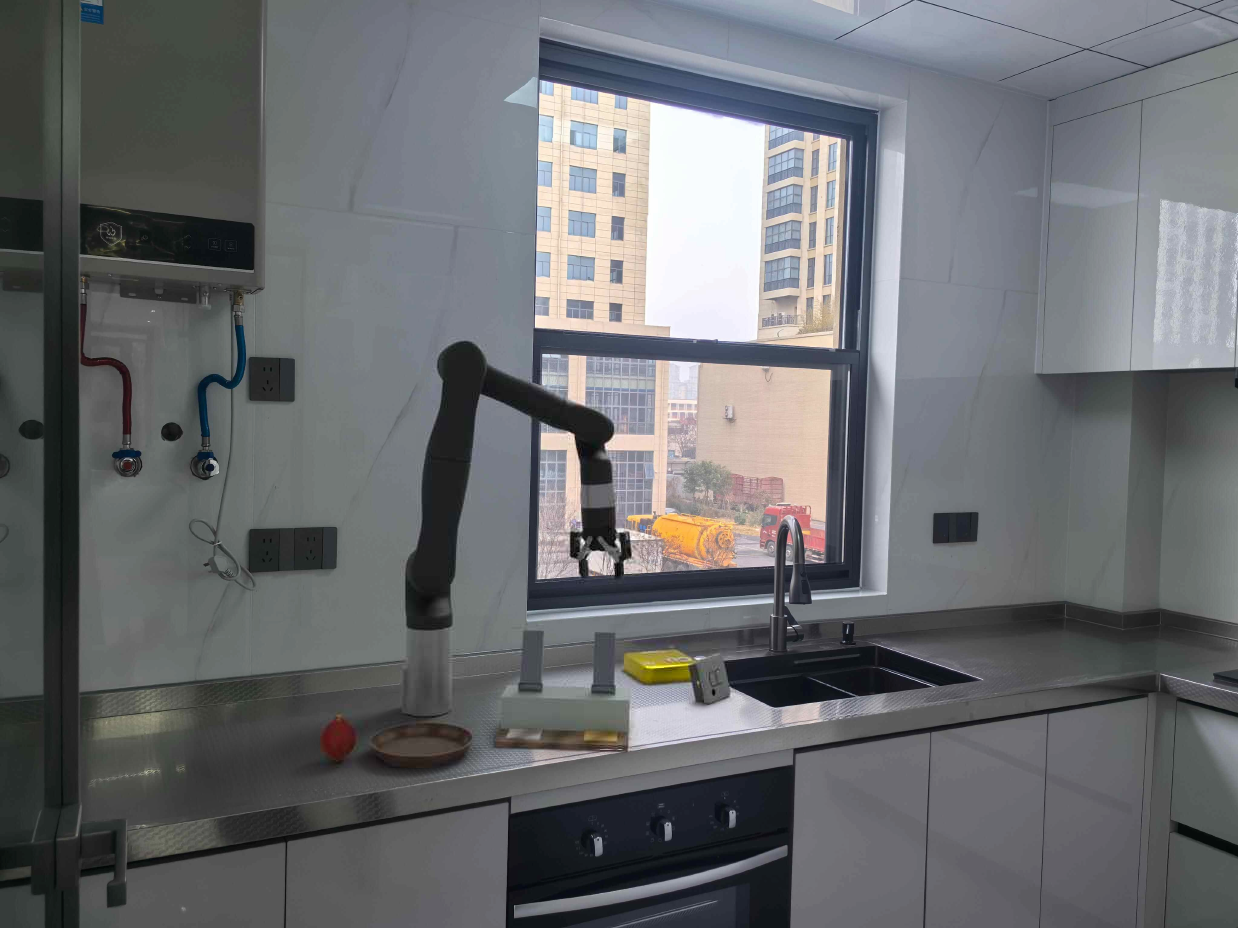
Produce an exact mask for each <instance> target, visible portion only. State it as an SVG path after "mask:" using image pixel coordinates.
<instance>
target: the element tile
mask: <svg viewBox="0 0 1238 928" xmlns="http://www.w3.org/2000/svg"><path fill="white" fill-rule="evenodd" d="M697 660H698V659H697ZM697 660H696V659H695V658H693V657H691V656H688V655H687V654H685V653H684V652H681V651H679V650H677V649H668V650H667V649H666V650H649V651H639V652H638V651H636V652H627V653H626V652H625V653H624V655H623V671H624V670H625V671H626V672H627V673H626V672H625V671H624V672H625V673H626V674H628V673H629V674H630V675H629V674H628V675H629V676H631V675H632V676H633V677H632V676H631V677H632V678H633V679H635V680H636V679H637V680H636V681H638V682H639V683H640V684H644V685H659V684H671V683H681V682H683V683H684V682H692V681H691V677H690V672H689V668H688V665H690V664H693V663H696V662H697ZM696 679H697V678H696Z"/></svg>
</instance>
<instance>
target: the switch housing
mask: <svg viewBox="0 0 1238 928" xmlns="http://www.w3.org/2000/svg"><path fill="white" fill-rule="evenodd" d="M630 691H631V689H630V688H629V687H628V688H627V687H626V688H625V687H624V688H623V687H616V692H615V693H591V686H588V687H586V686H556V685H555V686H554V685H553V686H552V685H543V691H518V685H515V684H508V685H507V686H506V688H505V690H504V691H503V693H502V695H501V696H500V729H542V730H564V731H612V732H630V708H631V707H630V706H631V705H630V703H631V701H630V700H631V698H630V697H631V693H630Z"/></svg>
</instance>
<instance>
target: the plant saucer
mask: <svg viewBox="0 0 1238 928" xmlns="http://www.w3.org/2000/svg"><path fill="white" fill-rule="evenodd" d="M473 740H474V735H473V733H472V732H471V731H470V730H469V729H466V728H464V727H461V726H459V725H454V724H449V723H441V722H415V723H414V722H412V723H405V724H399V725H395V726H391V727H387V728H385V729H382V730H380V731H379V730H378V731H376V732H375V733H374V734H373V735H372V736H371V737H370V739H369V741H368V742H369V745H370V747H371V749H372V751H373V752H374V754H375V755H377V757H378V758H379V759H380V760H381V761H382V762H384V763H386V764H388V765H391V766H394V767H400V768H406V769H407V768H409V769H417V768H418V769H422V768H423V769H425V768H431V767H437V766H442V765H446V764H449V763H451V762H454V761H456V760H458V759H459V758H460V757H461V756H462V755H463V754H464V753H465V752H466V751H467V749H468V748H469V747H470V745H471V743H472V742H473Z"/></svg>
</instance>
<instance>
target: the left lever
mask: <svg viewBox="0 0 1238 928" xmlns="http://www.w3.org/2000/svg"><path fill="white" fill-rule="evenodd" d="M522 631H523V632H522V643H521V644H522V646H521V660H520V661H521V663H520V675H519V676H520V678H519V679H520V680H519V682H518V691H543V686H544V683H543V682H542V681H543V665H544V663H543V662H544V649H545V648H544V647H545V646H544V645H545V630H528V629H527V630H522Z"/></svg>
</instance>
